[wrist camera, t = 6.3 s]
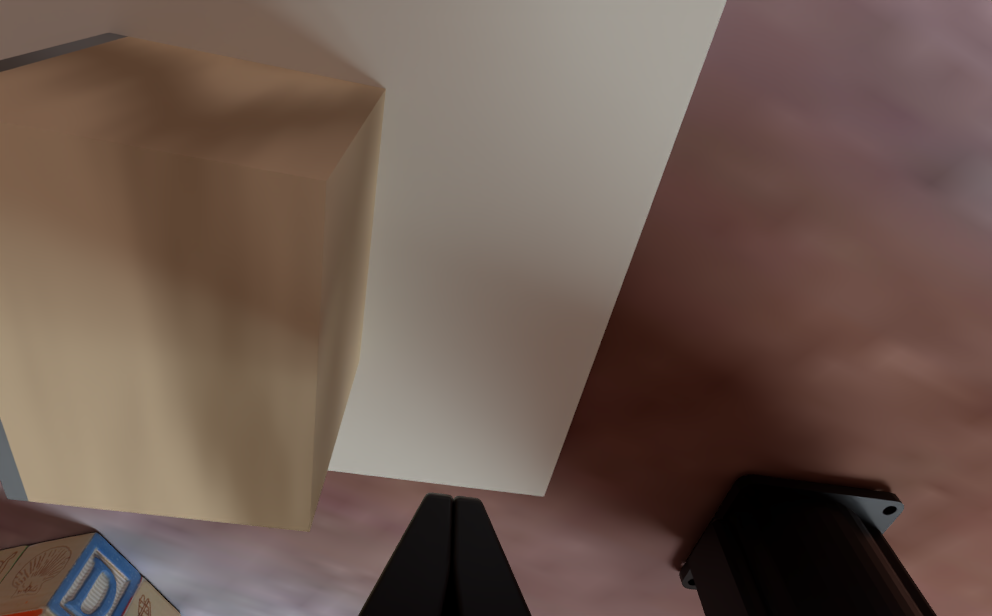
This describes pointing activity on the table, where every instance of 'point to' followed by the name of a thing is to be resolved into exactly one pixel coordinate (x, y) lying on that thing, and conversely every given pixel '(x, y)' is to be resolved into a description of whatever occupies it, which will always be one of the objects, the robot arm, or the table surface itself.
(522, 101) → the rubber mat
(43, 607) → the stack of blocks
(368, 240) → the beech block
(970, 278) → the table surface
